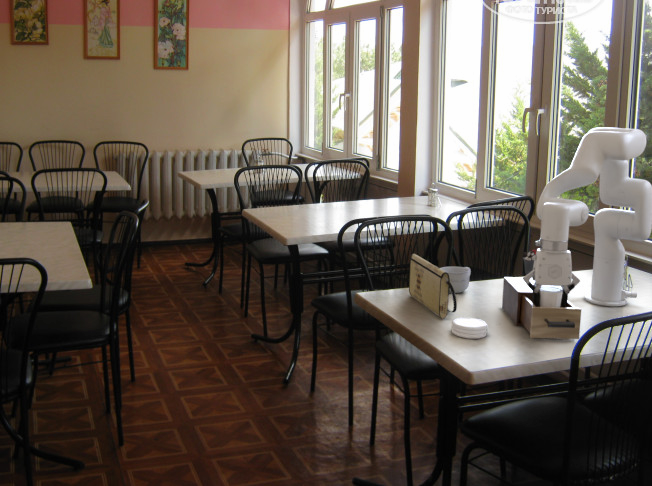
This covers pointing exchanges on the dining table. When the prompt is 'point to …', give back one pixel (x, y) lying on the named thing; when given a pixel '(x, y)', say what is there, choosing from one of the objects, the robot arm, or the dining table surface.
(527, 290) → the cabinet
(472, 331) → the white round disc
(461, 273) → the teacup
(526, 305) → the drawer
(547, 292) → the white cylinder
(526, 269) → the sundae
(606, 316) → the dining table surface
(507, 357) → the dining table surface
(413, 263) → the clutch purse
